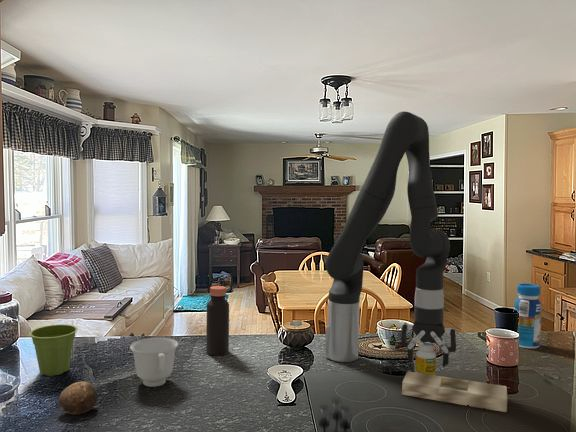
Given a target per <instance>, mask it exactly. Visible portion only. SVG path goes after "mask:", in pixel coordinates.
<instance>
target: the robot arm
mask: <svg viewBox="0 0 576 432" xmlns="http://www.w3.org/2000/svg"><path fill="white" fill-rule="evenodd" d="M404 155H405V156H406V158H407V159H406V160H407V164H408V178H407V189H406V190H407V192H406V193H407V200H408V206H409V211H410V214H411V217H410V220H411V221H410V229H409V245H410V248H411V250H412V252H413V254H414V255H416V256H417V257H419V258H426V259H425V262H424V263H423V264H421V265H420V266H418V267H417V268H416V271H415V272H416V273H415V290H414V292H415V293H414V312H413V313H414V316H413V317H414V319H413V320H414V321H413V322H414V323H413V324H409V323H407V322H403V324H402V326H401V336H400V337H401V338H400V339H401V340H400V345H401V347H404V348H406V349H407V360H408V361H409V363H410V364H413V363H414V353H415V352H414V350H415V349H414V346H416V344H418V342H419V341H420V342H429V343H432V344H435V343H436V345H438V346H439V347H440V348H441V350H442V367H444V368H446V367H447V366H448V365H449V362H450V359H449V358H450V353H455V352H456V351H457V336H456V335H457V332H456V328H455V327H454V326H452V327H445V325H444V316H445V315H444V311H445V310H444V308H445V307H444V305H445V300H444V299H445V296H444V295H445V294H444V272H445V269H446V267H447V266H446V265H447V262H448V258H449V253H450V250H451V243H450V242H451V241H450V239H449V236H448V234H447V233H446V232H445V231H443V230H441V229H432V230H431V222H433V221H435V220H436V219H437V218H438V217H439V211H438V206H437V201H436V196H435V195H436V194H435V191H434V186H433V185H434V184H433V179H432V178H433V177H432V171H431V157H430V133H429V126H428V123H427V122H426V121H425V120H424V119H423V118H422V117H421V116H418V115H416V114H414V113H412V112H409V111H399V112H398V113H395V114H394V115H393V117H391V119H390V120H389V122H388V123H387V125H386V129H385V131H384V134H383V137H382V140H381V143H380V146H379V148H378V151H377V153H376V156H375V158H374V161H373V163H372V165H371V167H370V170H369V171H368V173H367V176H366V177H365V180H364V182H363V184H362V186H361V188H360V190H359V192H358V194H357V196H356V199H355V201H354V203H353V206H352V208H351V210H350V212H349V215H348V216H347V219H346V221H345V224H344V227H343V229H342V231H341V232H340V234H339V236H338V238H337V239H336V241H335V242H334V245H333V246H332V247H331V250H330V251H329V253H328V255H327V256H326V260H325V269H326V273H327V274H328V276H329V277H330V278H332V279H333V281H332V285H331V287H330V289H329V292H328V310H327V312H328V313H327V315H328V316H327V325H326V326H325V340H324V341H325V344H324V346H325V347H324V358H325V359H329V360H332V361H335V362H339V363H340V362H341V363H349V362H351V363H352V362H354V361H356V360H358V358H359V335H360V334H359V332H360V331H359V330H360V329H359V328H360V298H361V293H362V290H363V280H364V258H363V256H362V253H361V251H362V248H363V247H364V245H365V242H366V241H367V239H368V238H369V236H370V235H371V234H372V233H373V231H374V230H375V229H376V228H377V226H378V225H379V224H380V222H381V221H382V220H383V218H384V217H385V214H386V213H387V211H388V208H389V207H390V204H391V202H392V201H393V199H394V196H395V191H396V185H397V177H398V175H397V174H398V170H399V166H400V163H401V161H402V159H403V157H404ZM411 330H412V331H413V333H414V334H415V336H414V337H413V338H412V339H411V341H408V340H407V339H408V333H410V331H411ZM445 334H446V335H447V337H450V345H449V346H448V344H447V343H446V341H445V340H444V338H443V335H445Z"/></svg>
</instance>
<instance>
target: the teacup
mask: <svg viewBox="0 0 576 432" xmlns="http://www.w3.org/2000/svg"><path fill="white" fill-rule="evenodd" d="M178 346H179V342H178V341H177V340H175V339H173V338H169V337H150V338H149V337H148V338H143V339H138V340H136V341H134V342H133V343H132V344H131V345H130V346H129V349H130V350H131V351H132V354H133V360H134V368H135V372H136V375H137V377H138V378H140V379H141V380H142V381H143V382H142V384H143V385H144V386H145V387H150V388H152V387H153V388H154V387H155V388H156V387H160V386H163V385H164V384H165V383H166V381H167V378H168V377H169V376H170V375H171V374H172V371H173V369H174V364H175V354H176V350H177V347H178Z"/></svg>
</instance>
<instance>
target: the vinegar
mask: <svg viewBox="0 0 576 432" xmlns="http://www.w3.org/2000/svg"><path fill="white" fill-rule="evenodd" d="M209 297H210V299H209V300H208V302H206V336H205V337H206V339H205V341H206V342H205V343H206V346H205V348H206V351H205V352H206V354H207V355H210V356H217V357H218V356H224V355H226V354H228V353H229V351H230V350H229V349H230V347H229V346H230V341H229V340H230V303H229V302H228V300H227V299H226V297H227V287H226V286H224V285H223V286H222V285H215V286H213V285H212V286H210V288H209Z"/></svg>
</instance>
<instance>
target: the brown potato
mask: <svg viewBox="0 0 576 432" xmlns="http://www.w3.org/2000/svg"><path fill="white" fill-rule="evenodd" d="M59 395H60V396H59V397H58V402H59V407H61V409H62V410H63V411H64V412H65V413H68V414H70V415H80V414H81V415H82V414H84V413H87V412H89V411H90V410H92V409H93V408H94V407H95V405H96V404H97V402H98V401H97V400H98V398H99V396H98V391H97V389H96V387H95V386H94V385H93V384H92V383H91V382H89V381H77V382H74V383H72V384H69V386H67V387H66V388H64V389H63V390H62V391H61V393H60V394H59Z"/></svg>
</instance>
